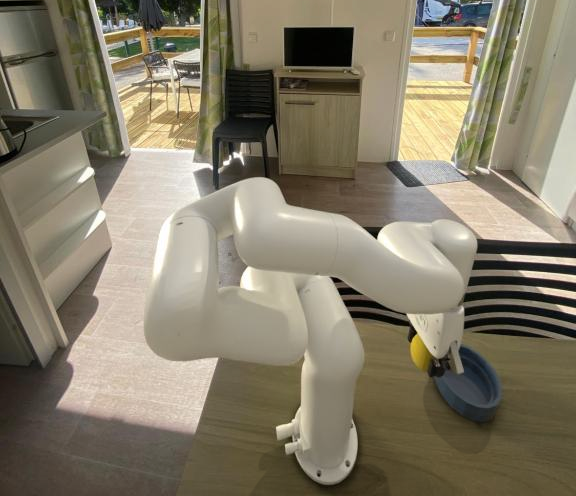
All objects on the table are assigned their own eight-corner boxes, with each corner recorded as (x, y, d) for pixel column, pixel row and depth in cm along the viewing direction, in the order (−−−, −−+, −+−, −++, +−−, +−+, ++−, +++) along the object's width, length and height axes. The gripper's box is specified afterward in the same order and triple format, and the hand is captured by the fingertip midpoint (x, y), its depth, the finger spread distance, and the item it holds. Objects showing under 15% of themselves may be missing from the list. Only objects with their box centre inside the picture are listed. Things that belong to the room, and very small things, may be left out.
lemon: (441, 385, 56) (448, 355, 54) (410, 378, 57) (416, 348, 55) (433, 354, 61) (440, 326, 59) (405, 348, 62) (411, 320, 60)
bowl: (461, 431, 59) (465, 415, 57) (422, 364, 70) (425, 349, 68) (511, 414, 61) (517, 398, 60) (465, 352, 72) (469, 337, 71)
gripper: (395, 253, 60) (385, 318, 66) (458, 339, 44) (438, 415, 50) (427, 248, 62) (414, 312, 67) (499, 329, 46) (475, 404, 51)
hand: (424, 355), depth 58 cm, fingers closed on lemon, 5 cm apart
